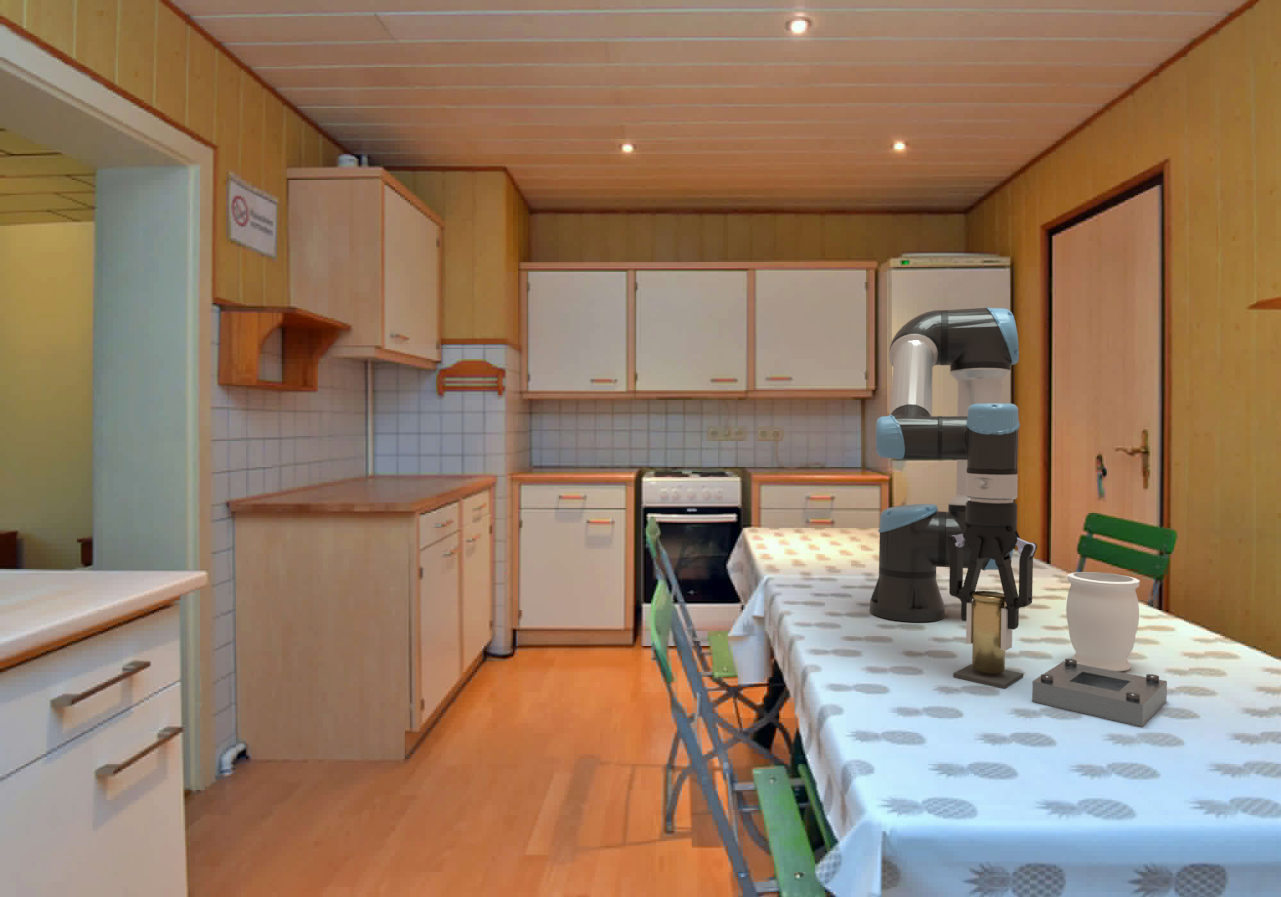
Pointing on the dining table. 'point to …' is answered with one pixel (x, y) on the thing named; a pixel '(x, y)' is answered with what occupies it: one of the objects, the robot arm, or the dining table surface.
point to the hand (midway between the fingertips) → (988, 644)
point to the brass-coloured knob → (987, 632)
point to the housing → (1101, 692)
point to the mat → (988, 677)
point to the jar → (1102, 618)
